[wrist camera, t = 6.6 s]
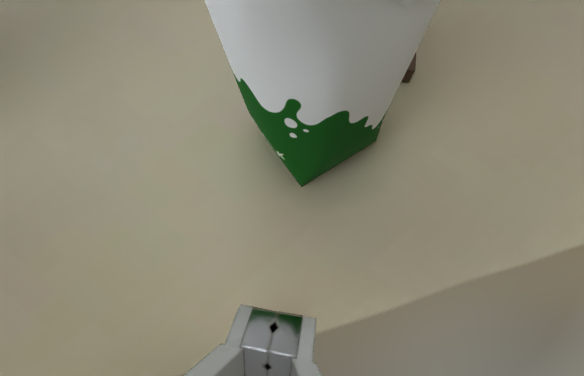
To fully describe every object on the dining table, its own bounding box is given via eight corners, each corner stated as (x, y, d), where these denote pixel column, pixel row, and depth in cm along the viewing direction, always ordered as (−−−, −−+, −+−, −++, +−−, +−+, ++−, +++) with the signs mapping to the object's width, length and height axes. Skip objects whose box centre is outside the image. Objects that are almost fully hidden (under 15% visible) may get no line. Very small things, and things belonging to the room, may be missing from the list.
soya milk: (243, 118, 24) (-43, -515, 5) (332, 67, 25) (408, -652, 5) (298, 203, 21) (188, -361, 2) (394, 143, 22) (925, -647, 3)
